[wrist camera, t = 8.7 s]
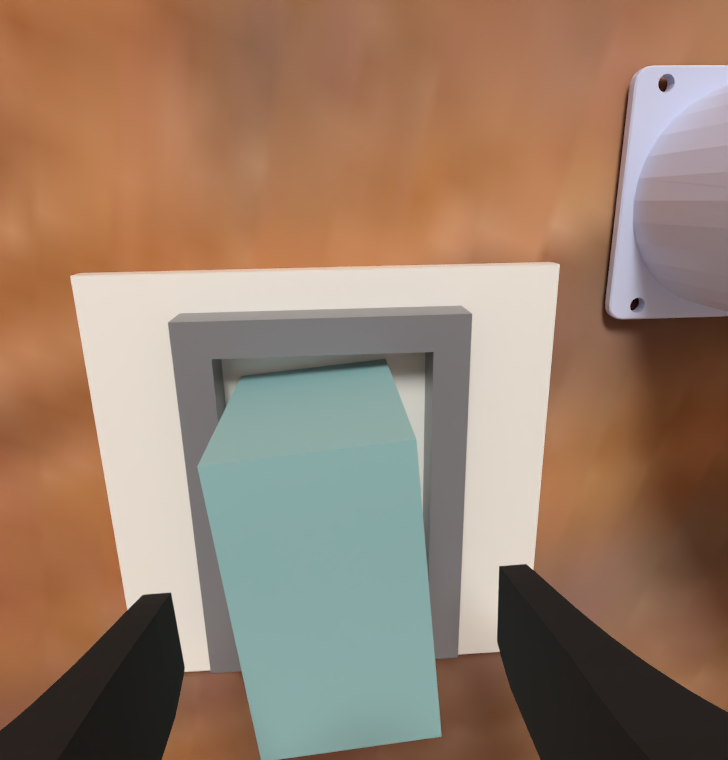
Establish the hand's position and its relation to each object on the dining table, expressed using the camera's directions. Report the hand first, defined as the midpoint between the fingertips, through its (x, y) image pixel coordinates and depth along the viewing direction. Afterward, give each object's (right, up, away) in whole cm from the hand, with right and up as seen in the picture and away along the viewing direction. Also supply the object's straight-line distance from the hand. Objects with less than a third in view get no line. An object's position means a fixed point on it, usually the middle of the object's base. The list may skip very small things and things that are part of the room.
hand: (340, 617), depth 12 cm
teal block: (-1, +1, +8) cm, 9 cm away
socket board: (-1, +1, +9) cm, 9 cm away
